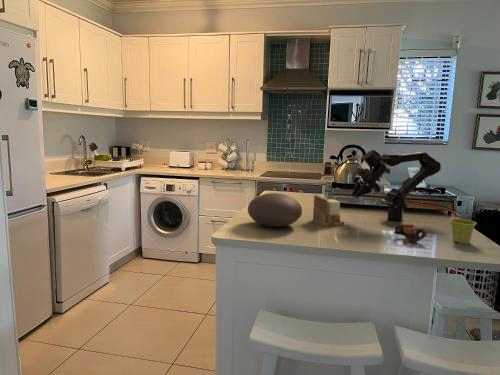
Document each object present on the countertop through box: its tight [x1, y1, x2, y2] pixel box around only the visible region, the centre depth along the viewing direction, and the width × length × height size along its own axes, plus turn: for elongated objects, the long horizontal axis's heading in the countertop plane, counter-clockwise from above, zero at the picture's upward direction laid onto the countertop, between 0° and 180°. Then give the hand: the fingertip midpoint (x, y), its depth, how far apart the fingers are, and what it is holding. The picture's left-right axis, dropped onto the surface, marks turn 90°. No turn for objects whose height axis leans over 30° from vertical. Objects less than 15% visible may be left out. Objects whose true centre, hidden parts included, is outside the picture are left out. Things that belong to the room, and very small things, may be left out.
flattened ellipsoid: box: [247, 192, 303, 228], centre depth 173 cm, size 25×25×15 cm
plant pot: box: [450, 218, 477, 245], centre depth 154 cm, size 9×9×9 cm
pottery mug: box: [393, 223, 427, 245], centre depth 154 cm, size 12×10×8 cm
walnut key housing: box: [312, 194, 345, 227], centre depth 181 cm, size 11×12×12 cm
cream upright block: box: [326, 198, 341, 219], centre depth 181 cm, size 5×7×9 cm
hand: (353, 196), depth 183 cm, fingers open, 3 cm apart
